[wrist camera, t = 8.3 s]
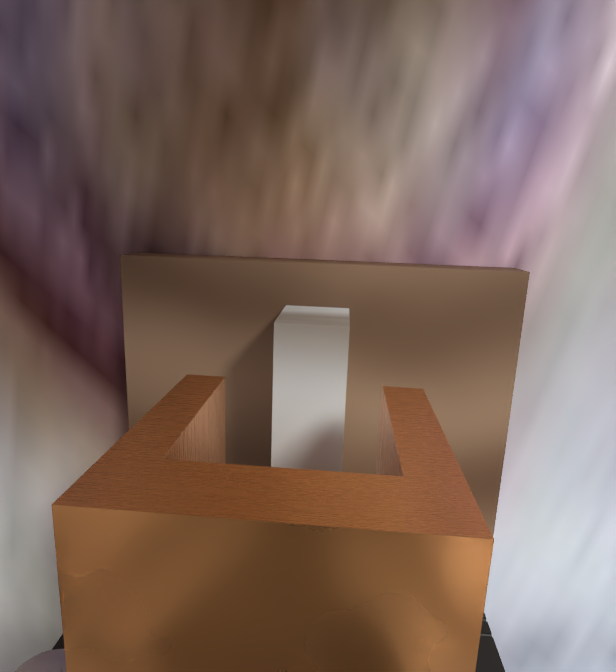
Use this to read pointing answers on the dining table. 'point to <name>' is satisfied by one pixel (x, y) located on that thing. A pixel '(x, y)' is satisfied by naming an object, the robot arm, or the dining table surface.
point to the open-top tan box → (270, 552)
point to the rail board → (384, 353)
